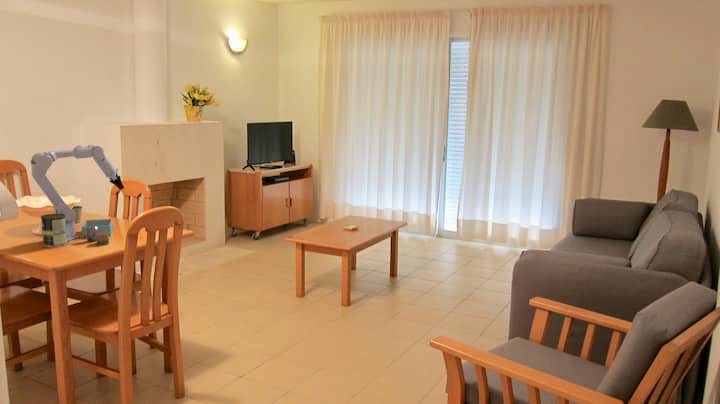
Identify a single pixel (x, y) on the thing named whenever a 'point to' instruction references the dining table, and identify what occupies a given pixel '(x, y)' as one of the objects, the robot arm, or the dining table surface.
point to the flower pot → (77, 213)
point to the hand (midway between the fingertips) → (120, 186)
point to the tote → (102, 224)
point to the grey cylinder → (92, 233)
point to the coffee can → (54, 230)
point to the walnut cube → (102, 238)
